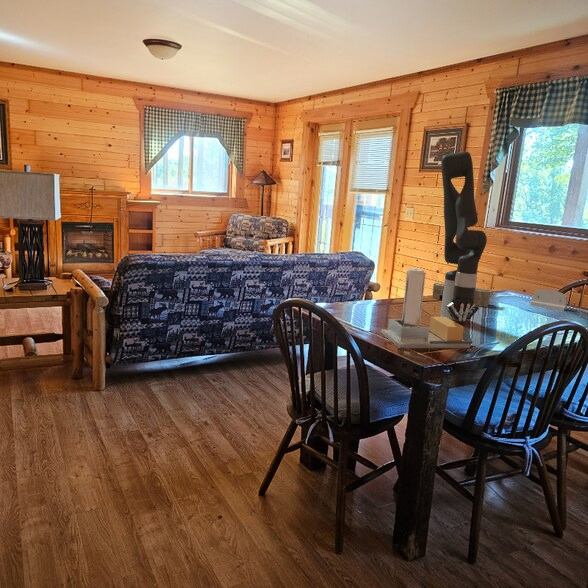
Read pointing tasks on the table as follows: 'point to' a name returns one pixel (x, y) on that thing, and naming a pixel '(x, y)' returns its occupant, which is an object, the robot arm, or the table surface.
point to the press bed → (418, 337)
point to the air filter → (413, 297)
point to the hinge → (549, 299)
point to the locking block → (446, 329)
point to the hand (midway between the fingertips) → (459, 330)
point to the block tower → (479, 299)
